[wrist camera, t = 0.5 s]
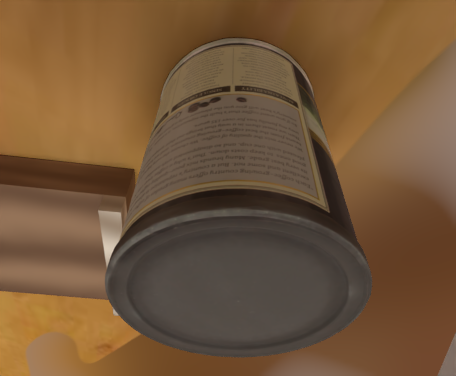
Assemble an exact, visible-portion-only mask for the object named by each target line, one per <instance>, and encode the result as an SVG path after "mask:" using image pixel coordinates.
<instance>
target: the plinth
mask: <svg viewBox="0 0 456 376" xmlns="http://www.w3.org/2000/svg"><path fill="white" fill-rule="evenodd" d="M134 189H135V174H134V170H133V169H124V168H115V167H106V166H96V165H87V164H78V163H69V162H60V161H51V160H41V159H32V158H23V157H14V156H5V155H0V291H8V292H20V293H33V294H45V295H57V296H69V297H81V298H93V299H105V300H109V299H108V296H107V294H106V290H105V274H106V270H107V267H108V263H109V260H110V258H111V255H112V252H113V250H114V248H115V246H116V245H117V243H118V242H119V240H120V237H121V233H122V230H123V226H124V223H125V220H126V216H127V213H128V210H129V207H130V203H131V199H132V196H133V193H134ZM113 314H114V315H117V316H119V315H118V314H117V312H116V311H115V310H114V309H113Z"/></svg>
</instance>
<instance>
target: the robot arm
mask: <svg viewBox="0 0 456 376" xmlns="http://www.w3.org/2000/svg"><path fill="white" fill-rule="evenodd" d="M438 376H456V333H455V336H454V338H453V341H452V343H451V345H450V348H449V350H448V352H447V355H446V357H445V360H444V362H443V364H442V367H441V369H440V372H439V374H438Z"/></svg>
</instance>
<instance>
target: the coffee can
mask: <svg viewBox="0 0 456 376" xmlns="http://www.w3.org/2000/svg"><path fill="white" fill-rule="evenodd" d="M371 288H372V277H371V272H370V269H369V265H368V262H367V259H366V256H365V254H364V252H363V249H362V248H361V246H360V244H359V243H358V242H357V238H356V236H355V232H354V228H353V225H352V222H351V219H350V215H349V212H348V209H347V206H346V202H345V199H344V195H343V192H342V189H341V186H340V182H339V179H338V176H337V172H336V169H335V166H334V163H333V160H332V156H331V153H330V150H329V146H328V143H327V140H326V136H325V133H324V130H323V126H322V123H321V120H320V117H319V113H318V109H317V106H316V103H315V100H314V93H313V89H312V86H311V84H310V81H309V79H308V77H307V75H306V73H305V72H304V70H303V69H302V68H301V67H300V65H299V64H298V63H297V62H296V61H295V60H294V59H293V58H292V57H291V56H290V55H289V54H287V53H286V52H285V51H283V50H281V49H279V48H277V47H275V46H273V45H271V44H269V43H266V42H263V41H259V40H254V39H247V38H225V39H221V40H217V41H214V42H211V43H207V44H205V45H202V46H200V47H198V48H197V49H195V50H193V51H191V52H190V53H189V54H188V55H186V56H185V57H184V58H183V59H182V60H181V61H180V62H179V63H178V64H177V65H176V66H175V67H174V68H173V70H172V71H171V72H170V74H169V76H168V78H167V80H166V82H165V84H164V87H163V90H162V93H161V99H160V105H159V109H158V112H157V116H156V119H155V122H154V126H153V129H152V132H151V136H150V139H149V142H148V145H147V148H146V152H145V156H144V159H143V162H142V165H141V169H140V172H139V176H138V179H137V183H136V186H135V189H134V193H133V196H132V199H131V203H130V207H129V210H128V213H127V216H126V220H125V223H124V226H123V230H122V233H121V237H120V240H119V242H118V243H117V245H116V246H115V248H114V250H113V252H112V255H111V258H110V260H109V263H108V267H107V270H106V274H105V290H106V294H107V296H108V299H109V301H110V303H111V305H112V307H113V309H114V310H115V311H116V312H117V314H118V315H119V316H120V317H121V318H122V319H123V320H124V321H125V322H126V323H127V324H129V325H130V326H131V327H132V328H133V329H135V330H136V331H138V332H139V333H141V334H143V335H145V336H147V337H149V338H150V339H153V340H155V341H157V342H159V343H162V344H164V345H167V346H170V347H173V348H177V349H180V350H184V351H188V352H192V353H198V354H204V355H211V356H221V357H223V356H224V357H256V356H268V355H274V354H280V353H285V352H290V351H294V350H298V349H301V348H305V347H307V346H311V345H313V344H316V343H318V342H321V341H323V340H325V339H327V338H329V337H331V336H333V335H334V334H336V333H338V332H340V331H341V330H343V329H344V328H346V327H347V326H348V325H349V324H350V323H351V322H352V321H354V320H355V319H356V318H357V317H358V316H359V314H360V313H361V312H362V310H363V309H364V307H365V305H366V303H367V301H368V299H369V297H370V295H371Z"/></svg>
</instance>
